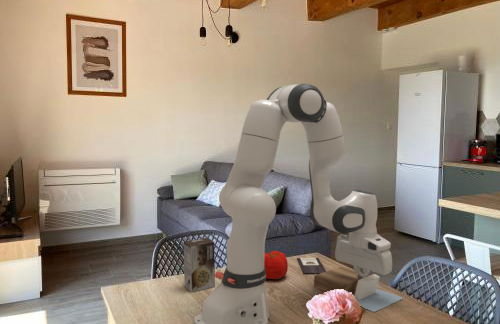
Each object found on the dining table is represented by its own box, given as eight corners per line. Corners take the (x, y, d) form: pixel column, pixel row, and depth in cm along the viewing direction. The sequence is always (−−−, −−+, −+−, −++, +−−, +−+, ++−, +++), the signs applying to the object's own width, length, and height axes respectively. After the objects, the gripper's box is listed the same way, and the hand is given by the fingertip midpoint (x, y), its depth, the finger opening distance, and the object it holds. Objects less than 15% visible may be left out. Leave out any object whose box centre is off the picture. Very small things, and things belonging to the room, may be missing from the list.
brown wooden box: (341, 297, 137) (341, 285, 136) (314, 286, 146) (314, 275, 146) (367, 287, 146) (367, 276, 145) (339, 277, 155) (340, 266, 154)
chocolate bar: (303, 273, 158) (296, 257, 176) (303, 275, 158) (296, 260, 176) (327, 273, 158) (318, 257, 176) (327, 275, 158) (318, 259, 176)
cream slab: (354, 296, 136) (359, 299, 134) (358, 280, 134) (363, 283, 133) (370, 289, 142) (375, 292, 140) (374, 273, 140) (379, 276, 139)
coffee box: (207, 281, 151) (206, 237, 150) (215, 287, 146) (215, 241, 144) (183, 286, 146) (182, 241, 145) (191, 292, 141) (190, 245, 139)
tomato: (273, 269, 163) (273, 246, 162) (294, 278, 154) (294, 254, 153) (251, 275, 157) (251, 251, 156) (271, 285, 147) (271, 260, 147)
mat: (374, 312, 126) (374, 311, 126) (342, 299, 135) (342, 298, 135) (403, 298, 136) (403, 297, 136) (371, 287, 145) (371, 286, 145)
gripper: (331, 234, 144) (330, 273, 145) (384, 248, 128) (382, 292, 129) (343, 231, 148) (342, 269, 149) (395, 244, 132) (394, 287, 133)
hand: (361, 280), depth 139 cm, fingers closed
